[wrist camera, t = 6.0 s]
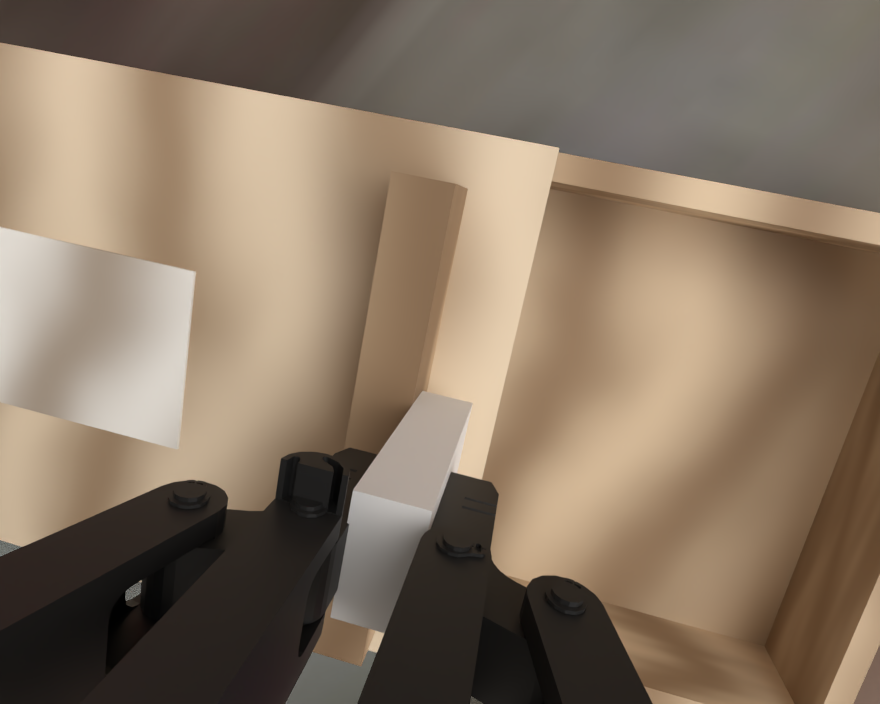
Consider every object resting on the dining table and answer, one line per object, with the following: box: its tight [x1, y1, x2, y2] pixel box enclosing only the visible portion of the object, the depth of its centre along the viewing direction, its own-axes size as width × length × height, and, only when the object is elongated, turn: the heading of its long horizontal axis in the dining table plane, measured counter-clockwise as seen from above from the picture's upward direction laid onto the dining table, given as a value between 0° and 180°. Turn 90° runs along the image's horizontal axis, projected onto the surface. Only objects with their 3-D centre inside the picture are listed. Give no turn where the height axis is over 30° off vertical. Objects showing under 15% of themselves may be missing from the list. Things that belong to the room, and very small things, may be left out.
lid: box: [0, 43, 559, 666], centre depth 19 cm, size 24×17×3 cm
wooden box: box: [482, 152, 880, 704], centre depth 21 cm, size 24×17×5 cm
